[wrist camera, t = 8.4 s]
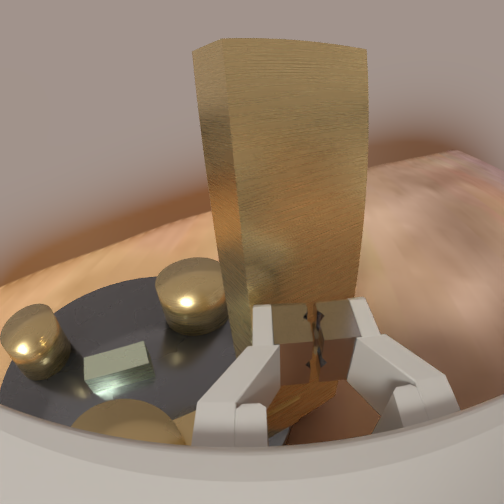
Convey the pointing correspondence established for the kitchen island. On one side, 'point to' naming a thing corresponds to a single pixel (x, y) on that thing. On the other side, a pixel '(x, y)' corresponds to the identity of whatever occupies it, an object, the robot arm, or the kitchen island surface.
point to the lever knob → (273, 200)
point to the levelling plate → (123, 346)
